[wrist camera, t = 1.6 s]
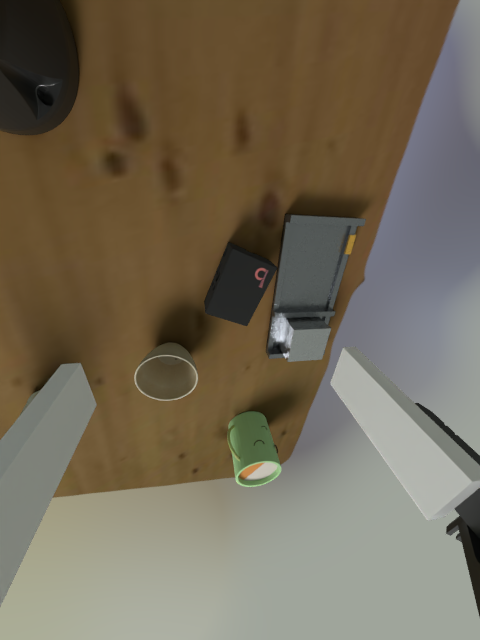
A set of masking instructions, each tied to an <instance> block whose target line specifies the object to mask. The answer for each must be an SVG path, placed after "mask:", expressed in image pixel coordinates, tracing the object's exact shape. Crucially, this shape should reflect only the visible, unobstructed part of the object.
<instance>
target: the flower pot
mask: <svg viewBox="0 0 480 640" xmlns="http://www.w3.org/2000/svg"><path fill="white" fill-rule="evenodd" d="M176 358H177V359H176ZM134 379H135V384H136V386H137V387H138V389H139V390H140V391H141V392H142V393H143V394H145V395H146V396H148V397H150V398H153V399H157V400H164V401H169V400H176V399H180V398H182V397H184V396H186V395H188V394H189V393H190V392H191V391H193V389H194V388H195V387H196V385H197V381H198V373H197V369H196V365H195V363H194V360H193V358H192V357H191V355H190V354H189V352H188V351H187V350H186V349H185V348H184V347H182V346H181V345H179V344H177V343H165V344H162V345H160V346H158V347H156V348H155V349H153V350H152V351H151V352H150V353H149V354H148V355H147V356H146V357H145V358H144V359H143V360H142V362H141V363H140V365H139V366H138V368H137V370H136V372H135V376H134Z"/></svg>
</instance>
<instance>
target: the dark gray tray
mask: <svg viewBox="0 0 480 640" xmlns="http://www.w3.org/2000/svg"><path fill="white" fill-rule="evenodd" d="M365 220H366V219H362V218H354V217H335V216H316V215H297V214H285V218H284V225H283V232H282V239H281V247H280V254H279V261H278V268H277V275H276V282H275V289H274V296H273V303H272V310H271V317H270V324H269V331H268V338H267V345H266V353H267V355H268V357H269V359H271V358H286V360H287V362H291V361H305V360H318V359H322V357H323V355H324V353H325V347H326V344H327V340H328V337H329V334H330V331H331V328H330V327H329V326H328V323H329V320H330V316H334V315H335V311H334V310H333V306H334V303H335V299H336V296H337V293H338V289H339V286H340V282H341V279H342V276H343V272H344V269H345V266H346V262H347V259H348V255H349V254H351V251H352V247H353V244H354V241H355V237H356V235H355V232H356V228H357V226H364V223H365Z"/></svg>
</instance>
